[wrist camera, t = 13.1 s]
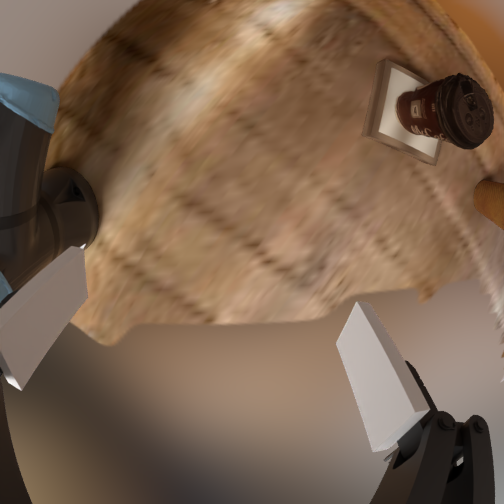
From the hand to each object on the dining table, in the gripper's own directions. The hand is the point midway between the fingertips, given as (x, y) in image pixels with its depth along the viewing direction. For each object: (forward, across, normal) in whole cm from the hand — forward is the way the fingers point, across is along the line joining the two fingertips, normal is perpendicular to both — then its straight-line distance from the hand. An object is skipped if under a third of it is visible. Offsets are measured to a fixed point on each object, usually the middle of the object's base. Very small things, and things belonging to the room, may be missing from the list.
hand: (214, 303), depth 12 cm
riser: (+26, +21, +18) cm, 38 cm away
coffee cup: (+24, +21, +18) cm, 36 cm away
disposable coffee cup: (+27, +44, +12) cm, 53 cm away
